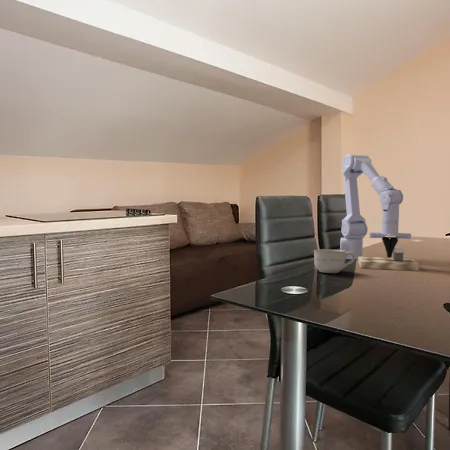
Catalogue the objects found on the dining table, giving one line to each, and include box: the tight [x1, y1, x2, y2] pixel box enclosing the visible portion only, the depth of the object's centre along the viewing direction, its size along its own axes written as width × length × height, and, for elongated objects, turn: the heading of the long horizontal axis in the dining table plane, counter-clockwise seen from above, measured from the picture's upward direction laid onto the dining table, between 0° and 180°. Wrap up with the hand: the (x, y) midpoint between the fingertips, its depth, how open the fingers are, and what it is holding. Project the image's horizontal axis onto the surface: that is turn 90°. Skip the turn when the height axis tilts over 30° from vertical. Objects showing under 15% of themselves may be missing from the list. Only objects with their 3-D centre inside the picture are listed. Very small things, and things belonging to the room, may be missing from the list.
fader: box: [392, 247, 405, 261], centre depth 152 cm, size 3×4×4 cm
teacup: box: [313, 248, 356, 274], centre depth 142 cm, size 14×11×8 cm
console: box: [357, 256, 420, 271], centre depth 154 cm, size 20×12×3 cm, turn 76°
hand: (389, 257), depth 153 cm, fingers closed
